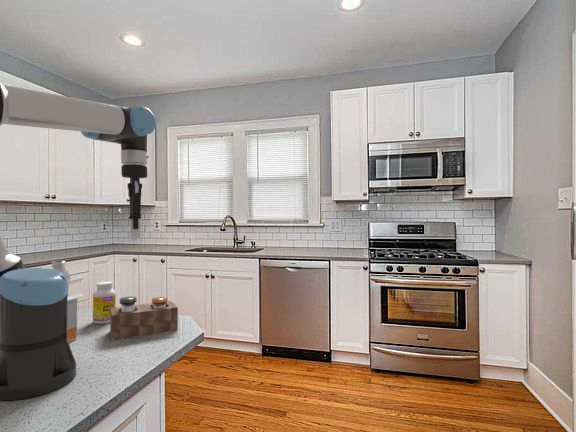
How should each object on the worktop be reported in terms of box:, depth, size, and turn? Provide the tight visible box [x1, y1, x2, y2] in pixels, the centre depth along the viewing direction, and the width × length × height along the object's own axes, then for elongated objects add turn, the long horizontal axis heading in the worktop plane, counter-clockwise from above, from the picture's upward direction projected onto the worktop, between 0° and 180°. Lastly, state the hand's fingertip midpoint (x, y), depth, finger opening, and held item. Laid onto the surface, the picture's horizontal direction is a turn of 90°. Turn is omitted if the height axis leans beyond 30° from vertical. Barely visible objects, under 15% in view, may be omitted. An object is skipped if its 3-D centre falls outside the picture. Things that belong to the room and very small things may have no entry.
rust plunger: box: [151, 296, 168, 309], centre depth 108 cm, size 5×5×9 cm
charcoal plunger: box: [119, 296, 137, 313], centre depth 103 cm, size 5×5×9 cm
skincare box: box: [67, 296, 78, 343], centre depth 96 cm, size 6×4×12 cm
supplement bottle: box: [92, 281, 117, 325], centre depth 114 cm, size 7×7×13 cm
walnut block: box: [109, 300, 179, 341], centre depth 106 cm, size 18×9×7 cm, turn 121°
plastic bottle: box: [51, 259, 71, 297], centre depth 113 cm, size 6×7×20 cm
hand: (135, 239), depth 110 cm, fingers closed
